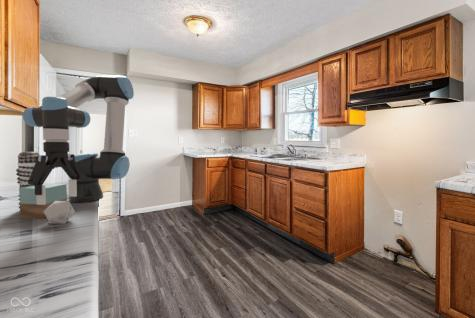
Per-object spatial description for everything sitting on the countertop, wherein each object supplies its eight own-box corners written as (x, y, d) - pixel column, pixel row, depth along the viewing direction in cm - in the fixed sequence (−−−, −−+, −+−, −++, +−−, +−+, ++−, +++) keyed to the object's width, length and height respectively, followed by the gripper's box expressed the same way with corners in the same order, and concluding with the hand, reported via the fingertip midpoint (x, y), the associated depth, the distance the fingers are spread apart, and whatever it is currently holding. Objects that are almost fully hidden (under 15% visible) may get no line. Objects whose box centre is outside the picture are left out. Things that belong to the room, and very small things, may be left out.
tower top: (44, 197, 105) (44, 183, 105) (66, 198, 103) (66, 184, 103) (20, 203, 95) (19, 188, 94) (44, 204, 93) (43, 188, 93)
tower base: (44, 211, 105) (44, 197, 105) (67, 212, 104) (66, 198, 104) (20, 218, 95) (19, 203, 95) (45, 219, 94) (44, 204, 93)
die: (51, 230, 84) (70, 205, 87) (32, 216, 85) (52, 193, 88) (66, 230, 92) (84, 208, 94) (49, 218, 93) (67, 196, 96)
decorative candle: (50, 208, 109) (47, 151, 107) (24, 213, 101) (21, 152, 99) (39, 205, 113) (36, 151, 111) (14, 210, 105) (10, 152, 103)
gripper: (73, 142, 101) (75, 193, 102) (11, 140, 76) (14, 208, 77) (90, 142, 100) (92, 193, 101) (33, 140, 75) (35, 209, 76)
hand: (58, 200), depth 89 cm, fingers open, 13 cm apart
